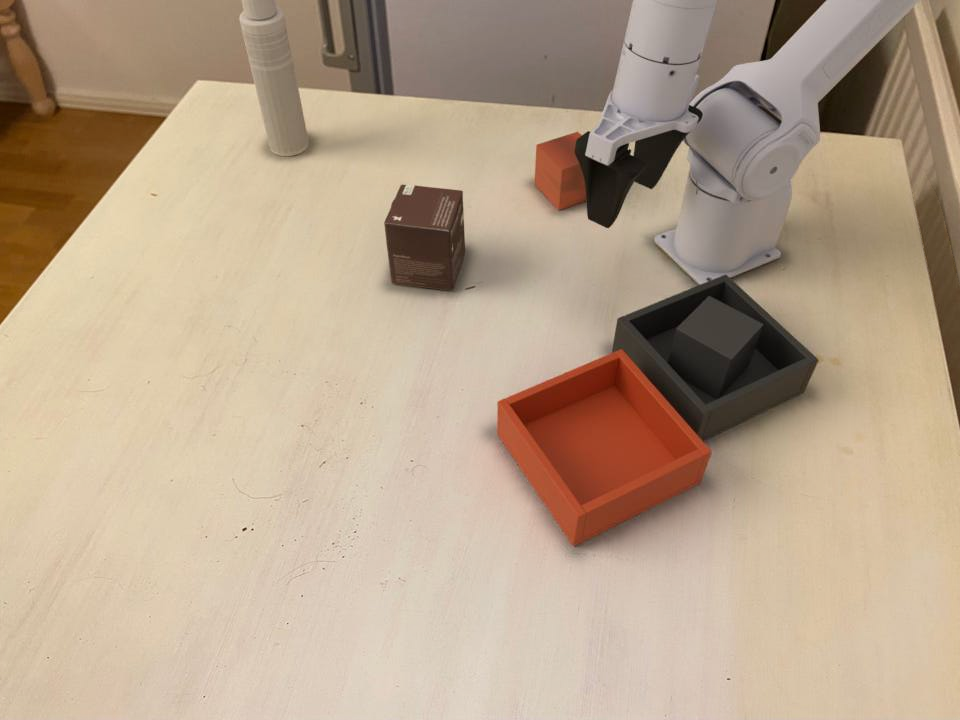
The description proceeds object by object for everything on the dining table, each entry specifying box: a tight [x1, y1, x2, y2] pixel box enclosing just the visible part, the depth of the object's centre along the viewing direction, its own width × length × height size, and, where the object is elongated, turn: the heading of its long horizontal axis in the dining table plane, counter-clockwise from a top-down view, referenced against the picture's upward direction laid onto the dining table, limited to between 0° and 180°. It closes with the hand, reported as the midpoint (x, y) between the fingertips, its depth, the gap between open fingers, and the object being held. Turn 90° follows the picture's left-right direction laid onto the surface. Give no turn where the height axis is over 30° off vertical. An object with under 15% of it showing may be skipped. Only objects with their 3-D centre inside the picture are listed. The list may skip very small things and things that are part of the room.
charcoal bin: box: [611, 274, 820, 442], centre depth 67 cm, size 11×11×4 cm
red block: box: [533, 131, 586, 211], centre depth 84 cm, size 5×5×5 cm
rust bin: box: [496, 349, 712, 547], centre depth 61 cm, size 11×11×4 cm
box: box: [383, 184, 466, 291], centre depth 75 cm, size 6×6×7 cm
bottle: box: [238, 0, 310, 157], centre depth 84 cm, size 4×4×20 cm
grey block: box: [668, 296, 763, 399], centre depth 66 cm, size 5×5×5 cm
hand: (622, 202), depth 69 cm, fingers open, 7 cm apart
